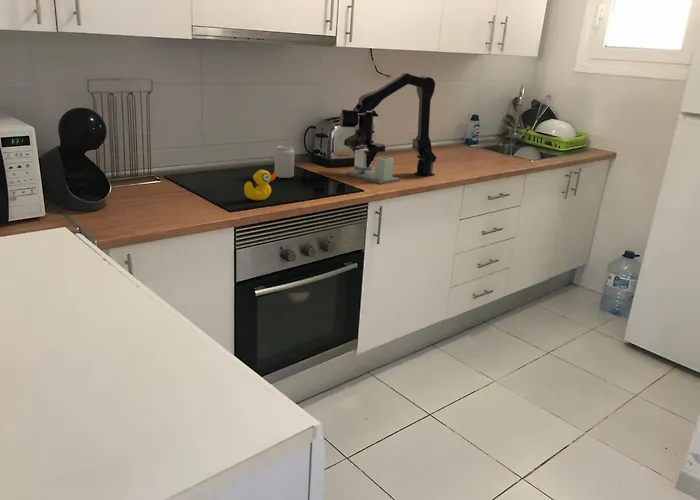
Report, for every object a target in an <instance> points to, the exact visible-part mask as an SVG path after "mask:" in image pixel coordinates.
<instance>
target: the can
mask: <svg viewBox="0 0 700 500" xmlns="http://www.w3.org/2000/svg"><path fill="white" fill-rule="evenodd" d="M274 172H275V173H276V177H275V178H277V177H279V178H278V179H280V178H290V179H291V177H292V178H293V177H294V176H295V150H294V148H293V146H290V145H278V146H276V149H275V150H274Z"/></svg>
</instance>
